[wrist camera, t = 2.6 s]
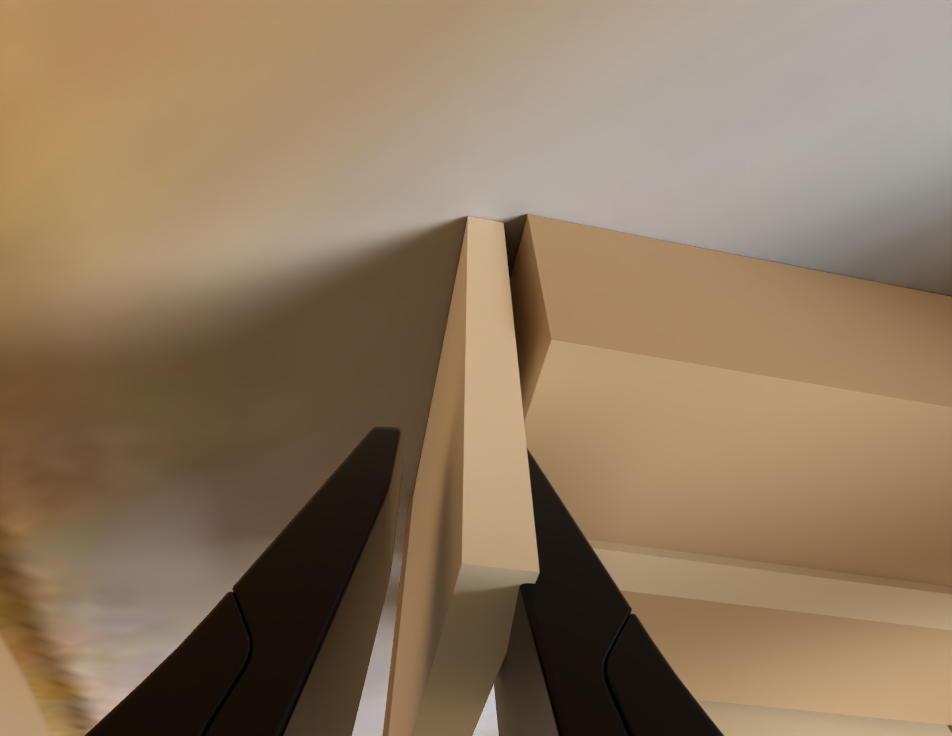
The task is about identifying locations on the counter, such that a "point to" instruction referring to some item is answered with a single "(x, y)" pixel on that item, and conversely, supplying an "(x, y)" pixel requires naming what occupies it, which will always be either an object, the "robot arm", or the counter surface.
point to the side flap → (809, 723)
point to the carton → (751, 462)
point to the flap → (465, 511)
